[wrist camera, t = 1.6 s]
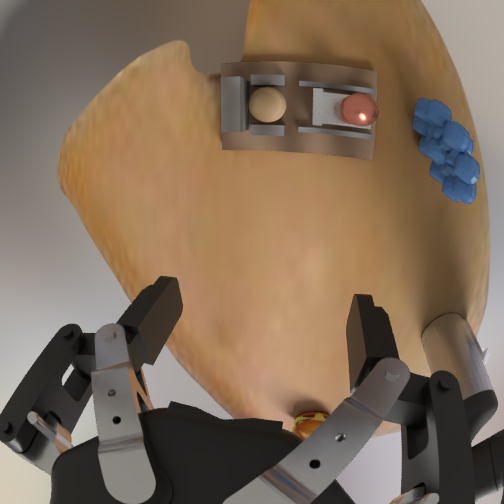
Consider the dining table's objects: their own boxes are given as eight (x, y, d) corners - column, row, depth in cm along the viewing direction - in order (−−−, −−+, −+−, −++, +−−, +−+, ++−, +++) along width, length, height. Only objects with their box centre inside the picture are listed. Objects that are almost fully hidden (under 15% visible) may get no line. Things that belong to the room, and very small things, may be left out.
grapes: (459, 177, 28) (509, 208, 17) (419, 189, 30) (461, 226, 20) (436, 92, 23) (488, 90, 13) (393, 103, 26) (435, 100, 15)
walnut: (287, 89, 27) (284, 85, 23) (287, 122, 29) (284, 123, 25) (252, 89, 27) (245, 85, 24) (252, 121, 29) (245, 122, 26)
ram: (369, 97, 25) (390, 92, 18) (367, 130, 27) (387, 136, 20) (312, 90, 26) (314, 81, 19) (311, 124, 28) (313, 126, 21)
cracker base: (374, 72, 24) (388, 65, 19) (370, 158, 30) (382, 167, 25) (224, 65, 27) (208, 57, 22) (225, 148, 33) (210, 155, 28)
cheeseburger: (294, 426, 63) (289, 454, 53) (294, 401, 60) (288, 430, 51) (331, 427, 60) (329, 455, 51) (334, 401, 58) (333, 431, 48)
